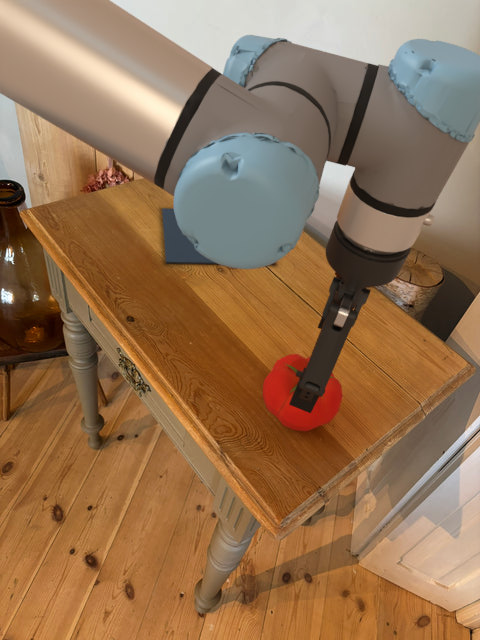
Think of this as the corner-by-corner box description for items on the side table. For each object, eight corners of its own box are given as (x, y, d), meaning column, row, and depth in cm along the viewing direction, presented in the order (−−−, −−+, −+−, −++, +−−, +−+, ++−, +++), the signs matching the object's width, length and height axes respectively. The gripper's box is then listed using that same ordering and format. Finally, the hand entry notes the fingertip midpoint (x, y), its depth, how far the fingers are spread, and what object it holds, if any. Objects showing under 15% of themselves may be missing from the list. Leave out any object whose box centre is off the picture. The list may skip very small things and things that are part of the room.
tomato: (346, 424, 65) (364, 396, 60) (279, 449, 61) (292, 421, 56) (308, 366, 71) (322, 335, 66) (245, 385, 67) (254, 354, 62)
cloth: (165, 263, 82) (166, 261, 82) (162, 209, 92) (162, 208, 92) (274, 264, 86) (274, 263, 86) (258, 213, 97) (259, 211, 96)
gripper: (395, 336, 35) (319, 460, 50) (425, 183, 51) (361, 312, 67) (301, 300, 36) (255, 433, 51) (360, 162, 52) (312, 294, 68)
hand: (315, 365), depth 59 cm, fingers open, 13 cm apart
